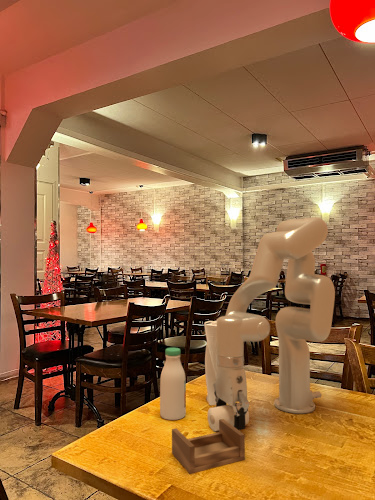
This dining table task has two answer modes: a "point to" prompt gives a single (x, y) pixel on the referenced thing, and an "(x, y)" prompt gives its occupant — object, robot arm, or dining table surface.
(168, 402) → the milk bottle
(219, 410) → the roll
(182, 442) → the cradle
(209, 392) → the skyscraper
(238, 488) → the dining table surface
